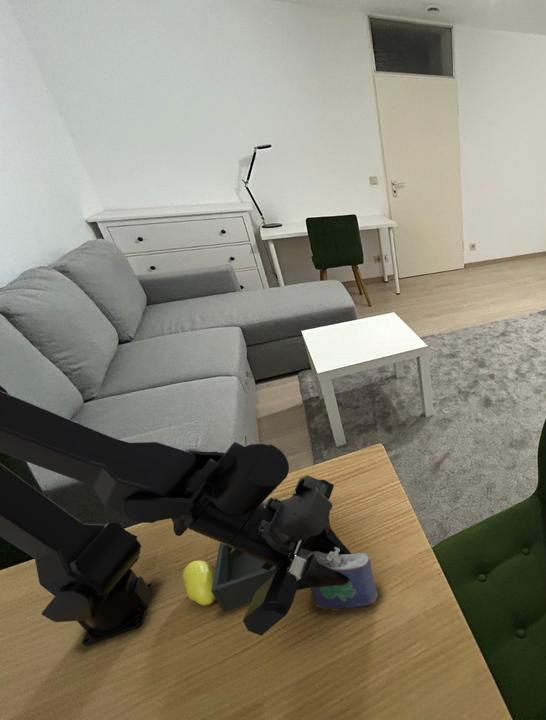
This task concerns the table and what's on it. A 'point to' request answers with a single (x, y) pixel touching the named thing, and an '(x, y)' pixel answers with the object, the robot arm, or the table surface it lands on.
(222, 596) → the tray
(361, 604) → the flask
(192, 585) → the yellow rounded oblong piece
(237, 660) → the table surface
